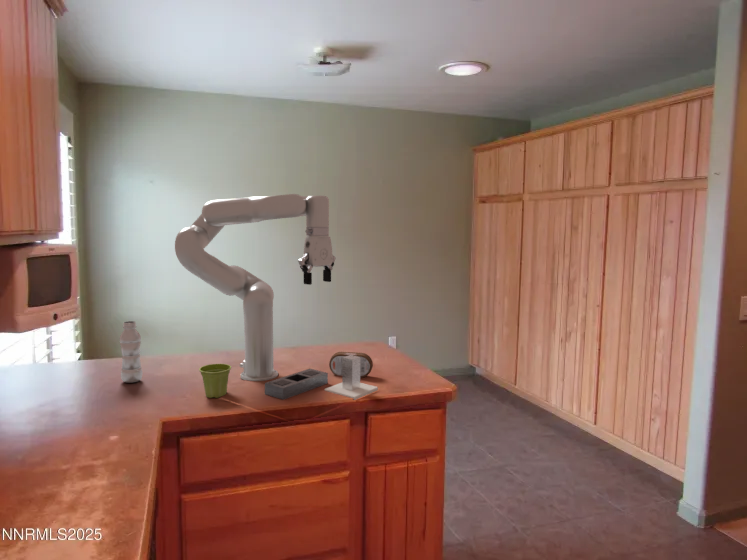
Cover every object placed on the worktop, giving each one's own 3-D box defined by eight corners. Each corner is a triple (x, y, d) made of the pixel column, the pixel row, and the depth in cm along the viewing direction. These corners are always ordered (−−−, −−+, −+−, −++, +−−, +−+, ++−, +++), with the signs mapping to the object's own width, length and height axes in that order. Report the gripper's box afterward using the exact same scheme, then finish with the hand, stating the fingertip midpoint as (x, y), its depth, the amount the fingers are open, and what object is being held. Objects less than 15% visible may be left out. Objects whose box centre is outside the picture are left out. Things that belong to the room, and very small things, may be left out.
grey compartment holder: (264, 395, 165) (264, 382, 164) (309, 380, 181) (309, 368, 180) (283, 401, 160) (283, 387, 160) (327, 384, 176) (327, 372, 176)
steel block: (342, 388, 170) (342, 357, 168) (350, 385, 173) (350, 354, 172) (352, 390, 167) (352, 359, 166) (360, 387, 170) (360, 356, 169)
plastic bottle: (134, 377, 181) (131, 319, 178) (147, 381, 177) (144, 321, 175) (116, 382, 175) (113, 322, 173) (129, 386, 172) (126, 325, 170)
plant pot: (211, 402, 158) (210, 374, 157) (193, 395, 164) (193, 367, 163) (237, 394, 165) (237, 367, 164) (220, 388, 171) (219, 361, 170)
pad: (324, 391, 169) (324, 388, 169) (348, 382, 178) (348, 379, 178) (354, 400, 162) (354, 396, 162) (377, 390, 171) (377, 387, 171)
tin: (372, 376, 186) (373, 352, 185) (371, 378, 183) (372, 354, 182) (330, 374, 188) (330, 350, 187) (328, 376, 185) (328, 353, 184)
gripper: (307, 233, 172) (307, 286, 174) (342, 232, 185) (342, 281, 187) (291, 232, 176) (291, 284, 178) (326, 231, 190) (326, 279, 192)
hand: (317, 282), depth 183 cm, fingers open, 9 cm apart
